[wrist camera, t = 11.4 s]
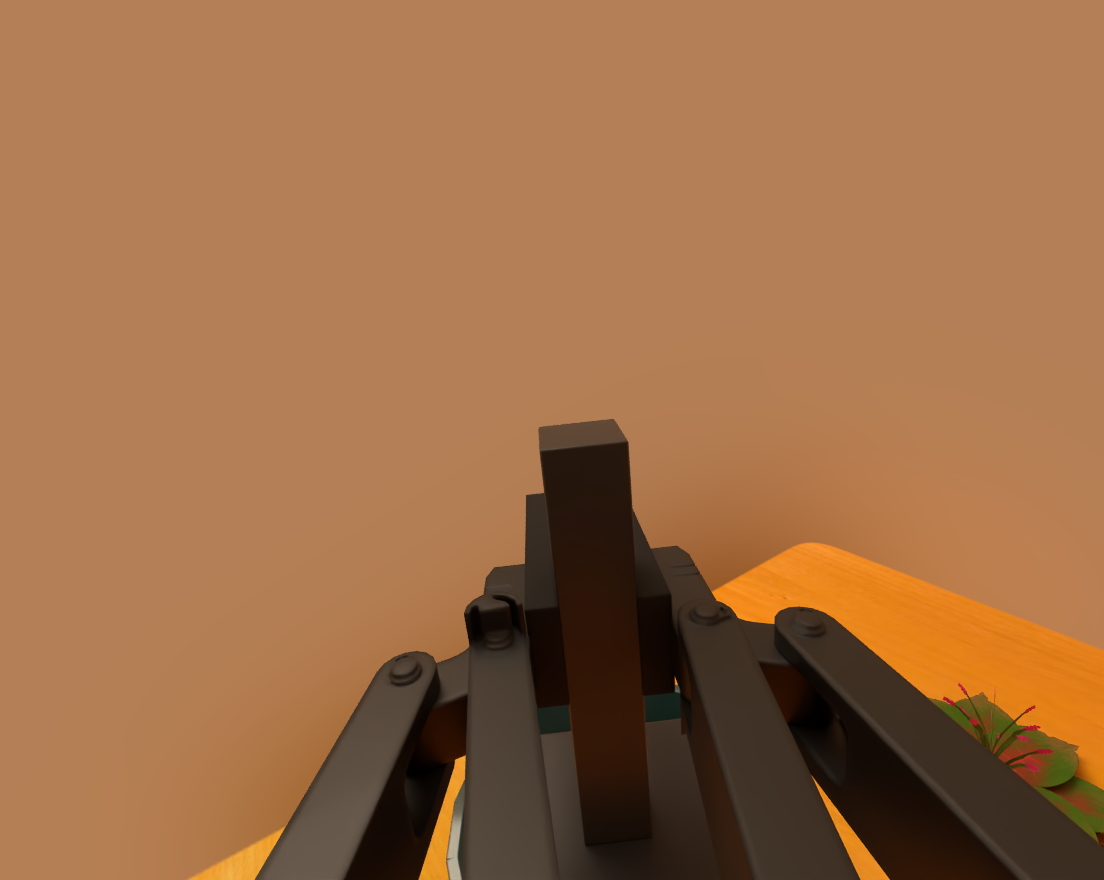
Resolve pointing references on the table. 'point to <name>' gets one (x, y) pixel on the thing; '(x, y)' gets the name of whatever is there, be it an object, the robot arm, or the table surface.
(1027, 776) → the lily flower
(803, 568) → the table surface
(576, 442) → the post on square base
